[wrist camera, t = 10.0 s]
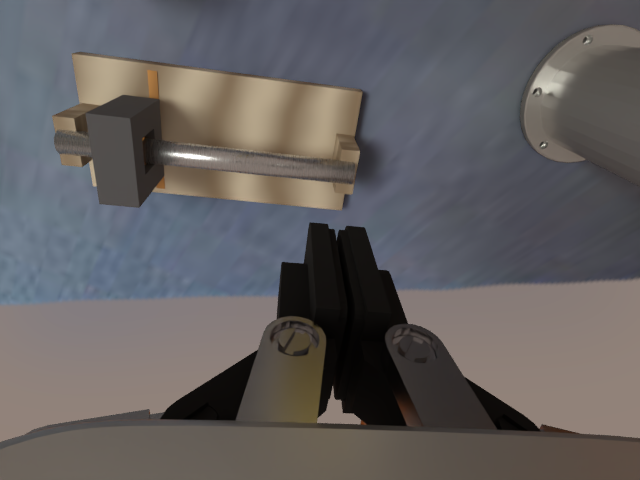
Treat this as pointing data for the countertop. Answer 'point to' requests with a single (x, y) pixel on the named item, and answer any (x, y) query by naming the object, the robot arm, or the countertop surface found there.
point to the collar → (124, 149)
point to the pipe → (221, 159)
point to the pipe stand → (227, 124)
